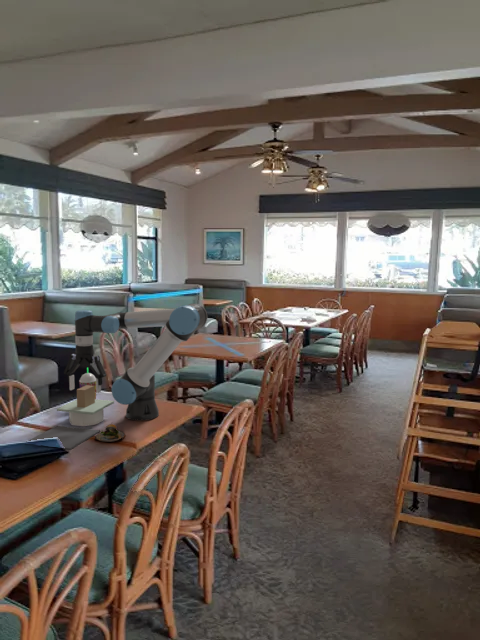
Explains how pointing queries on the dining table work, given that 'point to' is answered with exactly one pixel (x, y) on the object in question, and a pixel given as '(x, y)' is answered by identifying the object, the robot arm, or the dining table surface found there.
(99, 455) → the dining table surface
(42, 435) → the mat
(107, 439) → the burger
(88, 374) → the smoothie
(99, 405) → the lid
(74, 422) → the bowl
